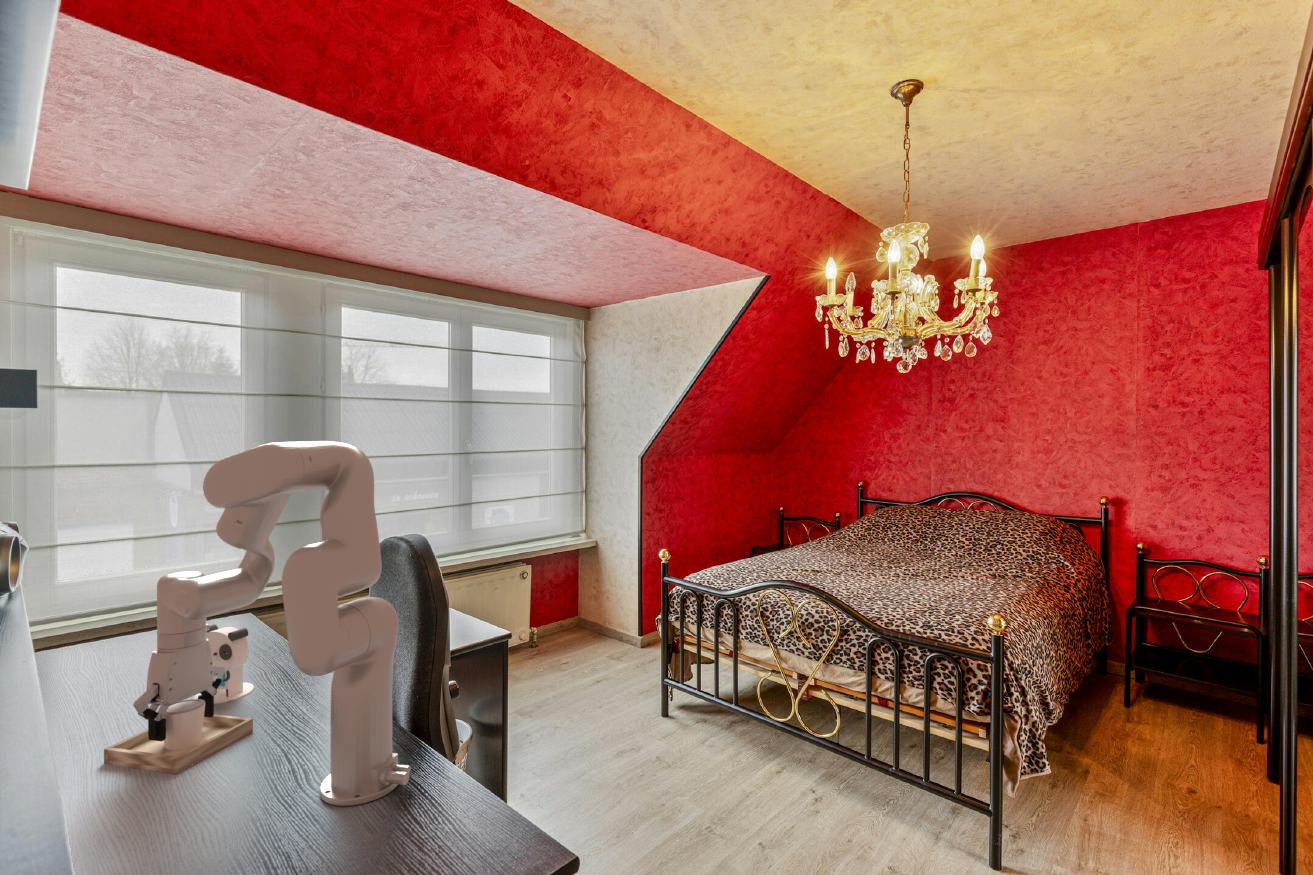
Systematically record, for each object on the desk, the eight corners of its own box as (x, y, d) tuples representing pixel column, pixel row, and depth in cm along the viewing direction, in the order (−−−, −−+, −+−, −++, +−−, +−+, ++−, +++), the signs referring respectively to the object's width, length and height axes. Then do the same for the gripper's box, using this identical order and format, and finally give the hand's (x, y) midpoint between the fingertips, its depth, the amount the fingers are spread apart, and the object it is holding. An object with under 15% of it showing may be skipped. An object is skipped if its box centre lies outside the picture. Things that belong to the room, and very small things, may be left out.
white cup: (181, 753, 115) (181, 715, 115) (150, 749, 117) (150, 712, 116) (214, 735, 122) (214, 699, 122) (185, 732, 123) (185, 696, 123)
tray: (252, 731, 125) (252, 718, 125) (176, 773, 110) (176, 759, 110) (187, 723, 129) (187, 710, 129) (103, 763, 113) (103, 749, 113)
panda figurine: (179, 699, 140) (179, 633, 140) (227, 680, 151) (227, 618, 151) (219, 707, 136) (219, 638, 136) (265, 686, 147) (265, 623, 147)
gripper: (207, 623, 128) (207, 706, 128) (118, 652, 111) (119, 747, 112) (238, 625, 127) (238, 709, 127) (152, 655, 110) (153, 752, 110)
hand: (182, 727), depth 119 cm, fingers open, 9 cm apart
